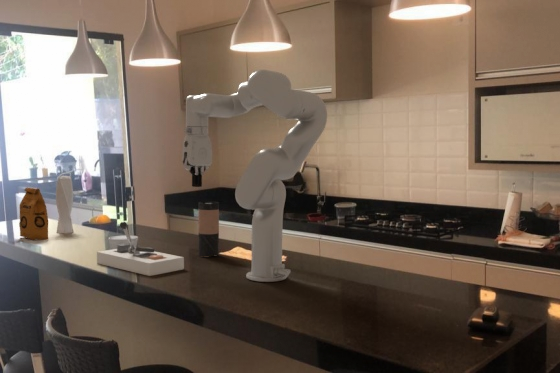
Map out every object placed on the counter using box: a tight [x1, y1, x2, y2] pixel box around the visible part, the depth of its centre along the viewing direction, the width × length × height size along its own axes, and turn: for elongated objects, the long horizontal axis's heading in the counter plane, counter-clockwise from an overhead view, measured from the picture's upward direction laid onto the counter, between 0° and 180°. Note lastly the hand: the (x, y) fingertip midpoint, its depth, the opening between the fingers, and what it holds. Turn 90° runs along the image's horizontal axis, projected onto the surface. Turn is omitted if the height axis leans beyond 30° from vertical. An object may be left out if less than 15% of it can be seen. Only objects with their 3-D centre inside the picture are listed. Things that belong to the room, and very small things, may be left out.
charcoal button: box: [117, 244, 130, 253], centre depth 199 cm, size 4×4×3 cm
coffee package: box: [18, 187, 49, 241], centre depth 249 cm, size 10×12×22 cm
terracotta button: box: [150, 255, 163, 260], centre depth 188 cm, size 4×4×3 cm
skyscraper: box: [55, 171, 74, 235], centre depth 266 cm, size 8×8×28 cm
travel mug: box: [197, 201, 220, 257], centre depth 214 cm, size 8×8×20 cm
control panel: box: [96, 247, 185, 277], centre depth 194 cm, size 29×14×6 cm, turn 50°
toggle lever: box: [119, 221, 136, 253], centre depth 194 cm, size 2×2×12 cm
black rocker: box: [135, 246, 155, 252], centre depth 192 cm, size 3×5×1 cm, turn 140°
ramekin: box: [107, 234, 139, 250], centre depth 223 cm, size 11×11×5 cm
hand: (196, 186), depth 195 cm, fingers closed
